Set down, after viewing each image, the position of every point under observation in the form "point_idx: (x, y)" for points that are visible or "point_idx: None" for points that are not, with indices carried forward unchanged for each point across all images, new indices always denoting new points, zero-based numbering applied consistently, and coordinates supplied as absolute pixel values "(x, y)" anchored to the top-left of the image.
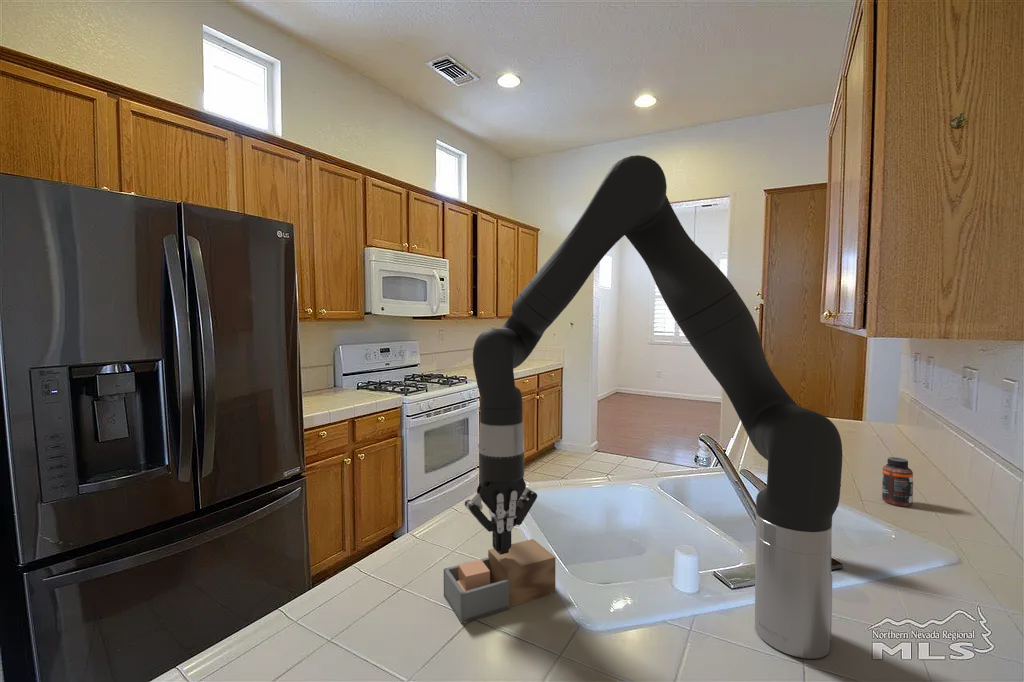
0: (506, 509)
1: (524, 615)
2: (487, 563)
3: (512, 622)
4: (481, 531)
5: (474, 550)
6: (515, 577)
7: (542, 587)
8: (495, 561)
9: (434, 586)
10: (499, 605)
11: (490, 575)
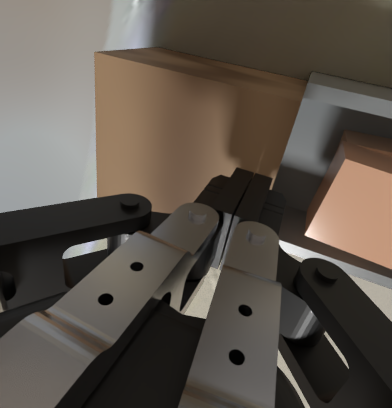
0: (166, 307)
1: (301, 11)
2: None
3: (358, 4)
4: None
5: (202, 305)
6: (270, 87)
7: (186, 57)
8: None
9: (377, 285)
10: (346, 81)
11: None
